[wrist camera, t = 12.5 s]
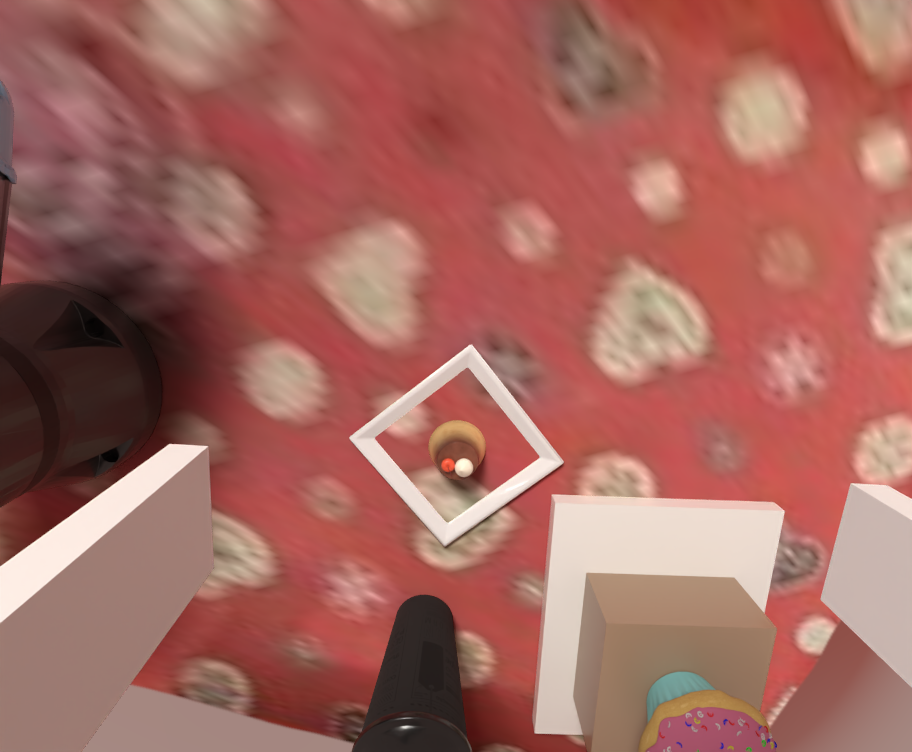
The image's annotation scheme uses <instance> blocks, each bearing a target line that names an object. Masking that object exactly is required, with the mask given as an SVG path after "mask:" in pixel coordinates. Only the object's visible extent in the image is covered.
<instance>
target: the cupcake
mask: <svg viewBox="0 0 912 752" xmlns="http://www.w3.org/2000/svg"><path fill="white" fill-rule="evenodd" d="M646 704H647V718H648V724H647V725H646V727H645V730H644V732H643V734H642V736H641V738H640V742H639V747H638V752H776V747H777V744H776V742H775V741H774V740H773V738H772V735H771V732H770V728H769V726H768V723H767V721H766V720H765V718H764V716H763V715H762V714H761V713H760V712H759V710H758V709H756V708H755V707H754V706H752V705H750V704H749V703H747V702H745V701H743V700H741V699H739V698H735V697H731V696H729V695H728V694H726V693H725V692H723V691H720V690H716V689H715V688H713V687H712V686H711V685H710V684H709V683H708V682H707V681H706V680H705V679H704V678H702V677H701V676H699V675H697V674H695V673H691V672H674V673H670V674H667V675H665V676H663V677H661V678H660V679H659V680H657V681H656V682H655V683H654V684H653V685H652V687H651V688H650V690H649V692H648V695H647V701H646Z"/></svg>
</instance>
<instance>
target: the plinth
mask: <svg viewBox="0 0 912 752" xmlns="http://www.w3.org/2000/svg"><path fill="white" fill-rule="evenodd" d="M784 512H785V511H784V510H783V509H782V508H780V507H779V506H778V505H777V504H775V503H774V502H755V501H726V500H697V499H668V498H639V497H611V496H582V495H553V494H552V499H551V511H550V522H549V533H548V545H547V556H546V568H545V579H544V591H543V602H542V613H541V625H540V636H539V648H538V659H537V671H536V682H535V693H534V705H533V716H532V720H533V726H534V733H536V734H570V735H583V737H584V741H585V745H586V748H587V752H638V747H639V742H640V738H641V736H642V734H643V732H644V730H645V727H646V725H647V724H648V718H647V704H646V701H647V695H648V692H649V690H650V688H651V687H652V685H653V684H654V683H655V682H656V681H657V680H659V679H660V678H661V677H663V676H665V675H667V674H670V673H674V672H691V673H695V674H697V675H699V676H701V677H702V678H704V679H705V680H706V681H707V682H708V683H709V684H710V685H711V686H712V687H713V688H715V689H716V690H720V691H723V692H725V693H726V694H728V695H729V696H731V697H735V698H739V699H741V700H743V701H745V702H747V703H749V704H750V705H752V706H754V707H755V708H756V709H758V710H759V712H760V709H761V704H762V699H763V695H764V690H765V685H766V680H767V675H768V670H769V666H770V661H771V656H772V651H773V646H774V642H775V637H776V632H777V628H776V627H775V625H774V624H773V623H772V622H771V621H770V620H769V618H768V617H767V616H766V615H765V614H764V612H765V607H766V602H767V597H768V592H769V587H770V582H771V577H772V572H773V567H774V562H775V557H776V552H777V547H778V542H779V537H780V532H781V527H782V522H783V517H784Z"/></svg>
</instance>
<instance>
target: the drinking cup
mask: <svg viewBox="0 0 912 752" xmlns="http://www.w3.org/2000/svg"><path fill="white" fill-rule="evenodd" d="M352 752H472V749H471V746H470V744H469V742H468V740H467V732H466V724H465V716H464V708H463V700H462V691H461V683H460V675H459V667H458V659H457V650H456V642H455V634H454V626H453V618H452V613H451V611H450V609H449V607H448V606H447V605H446V603H444V602H443V601H442V600H440V599H439V598H437V597H434V596H430V595H418V596H414V597H412V598H410V599H408V600H406V601H405V602H404V603H403V604H402V605H401V606H400V608H399V610H398V612H397V615H396V619H395V622H394V625H393V629H392V632H391V635H390V639H389V642H388V646H387V649H386V652H385V656H384V659H383V662H382V666H381V669H380V672H379V676H378V679H377V682H376V686H375V689H374V692H373V696H372V699H371V703H370V706H369V709H368V713H367V716H366V719H365V723H364V726H363V729H362V732H361V734H360V735H359V736H358V738H357V740H356V741H355V743H354V746H353V748H352Z"/></svg>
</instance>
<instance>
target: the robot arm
mask: <svg viewBox="0 0 912 752" xmlns="http://www.w3.org/2000/svg"><path fill="white" fill-rule="evenodd" d="M13 125H14V108H13V103H12V99H11V97H10V94H9V92H8V90H7V88H6V87H5V85H4V84H3V82H2V81H1V80H0V507H2V506H4V505H5V504H7V503H9V502H10V501H12V500H13V499H15V498H17V497H18V496H20V495H22V494H24V493H26V492H31V491H37V490H42V489H48V488H53V487H59V486H65V485H70V484H76V483H80V482H84V481H88V480H91V479H93V478H96V477H99V476H101V475H103V474H105V473H107V472H109V471H111V470H112V469H114V468H115V467H117V466H118V465H120V464H121V463H123V462H125V461H126V460H128V459H129V458H130V457H132V456H133V455H134V454H135V453H137V452H138V451H139V450H140V449H141V448H142V446H143V445H144V444H145V443H146V442H147V440H148V439H149V437H150V436H151V434H152V432H153V430H154V428H155V426H156V423H157V421H158V418H159V414H160V409H161V402H162V384H161V377H160V372H159V368H158V365H157V362H156V359H155V356H154V354H153V352H152V350H151V348H150V346H149V344H148V342H147V341H146V339H145V337H144V336H143V334H142V333H141V332H140V330H139V329H138V328H137V326H136V325H135V324H134V323H133V322H132V321H131V320H130V318H129V317H128V316H127V315H125V314H124V313H123V312H122V311H121V310H120V309H119V308H117V307H116V306H115V305H113V304H112V303H111V302H109V301H108V300H106V299H105V298H103V297H101V296H99V295H97V294H96V293H94V292H91V291H89V290H87V289H84V288H82V287H79V286H76V285H72V284H68V283H64V282H57V281H30V282H19V283H10V284H4V285H1V276H2V267H3V258H4V249H5V240H6V232H7V223H8V214H9V205H10V196H11V187H12V184H16V181H17V175H16V173H15V170H14V169H13V168H12V149H13ZM213 569H214V559H213V536H212V514H211V491H210V469H209V446H198V445H180V444H169V445H167V446H166V447H165V448H163V449H162V450H161V451H159V452H158V453H156V454H155V455H154V456H152V457H151V458H149V459H148V460H147V461H145V462H144V463H143V464H141V465H140V466H138V467H137V468H136V469H134V470H133V471H132V472H130V473H129V474H127V475H126V476H125V477H123V478H122V479H120V480H119V481H118V482H116V483H115V484H114V485H112V486H111V487H109V488H108V489H107V490H105V491H104V492H102V493H101V494H100V495H98V496H97V497H96V498H94V499H93V500H91V501H90V502H89V503H87V504H86V505H85V506H83V507H82V508H80V509H79V510H78V511H76V512H75V513H73V514H72V515H71V516H69V517H68V518H67V519H65V520H64V521H62V522H61V523H60V524H58V525H57V526H55V527H54V528H53V529H51V530H50V531H49V532H47V533H46V534H44V535H43V536H42V537H40V538H39V539H38V540H36V541H35V542H33V543H32V544H31V545H29V546H28V547H26V548H25V549H24V550H22V551H21V552H20V553H18V554H17V555H15V556H14V557H13V558H11V559H10V560H9V561H7V562H6V563H4V564H3V565H2V566H0V752H82V751H83V749H84V748H85V746H86V745H87V744H88V742H89V741H90V739H91V738H92V737H93V735H94V734H95V733H96V731H97V730H98V728H99V727H100V726H101V724H102V723H103V721H104V720H105V719H106V717H107V716H108V715H109V713H110V712H111V710H112V709H113V708H114V706H115V705H116V703H117V702H118V701H119V699H120V698H121V697H122V695H123V694H124V692H125V691H126V690H127V688H128V687H129V685H130V684H131V683H132V681H133V680H134V678H135V677H136V676H137V674H138V673H139V672H140V670H141V669H142V667H143V666H144V665H145V663H146V662H147V660H148V659H149V658H150V656H151V655H152V653H153V652H154V651H155V649H156V648H157V647H158V645H159V644H160V642H161V641H162V640H163V638H164V637H165V635H166V634H167V633H168V631H169V630H170V628H171V627H172V626H173V624H174V623H175V622H176V620H177V619H178V617H179V616H180V615H181V613H182V612H183V610H184V609H185V608H186V606H187V605H188V603H189V602H190V601H191V599H192V598H193V597H194V595H195V594H196V592H197V591H198V590H199V588H200V587H201V585H202V584H203V583H204V581H205V580H206V579H207V577H208V576H209V574H210V573H211V572H212V570H213ZM820 600H821V601H822V602H823V603H824V604H826V605H827V606H828V607H829V608H830V609H831V610H832V611H833V612H834V613H835V614H836V615H837V616H838V617H839V618H840V619H841V620H842V621H843V622H844V623H845V624H846V625H847V626H848V627H849V628H851V629H852V630H853V631H854V632H855V633H856V634H857V635H858V636H859V637H860V638H861V639H862V640H863V641H864V642H865V643H866V644H867V645H868V646H869V647H870V648H871V649H872V650H873V651H874V652H875V653H876V654H877V655H878V656H879V657H881V658H882V659H883V660H884V661H885V662H886V663H887V664H888V665H889V666H890V667H891V668H892V669H893V670H894V671H895V672H896V673H897V674H898V675H899V676H900V677H901V678H903V680H904V681H905V682H906V683H908V684H909V685H910V686H911V687H912V499H910V498H909V497H907V496H905V495H903V494H901V493H900V492H898V491H896V490H894V489H892V488H891V487H889V486H887V485H871V484H854V483H851V484H850V488H849V492H848V496H847V500H846V503H845V507H844V511H843V515H842V519H841V523H840V526H839V530H838V534H837V538H836V542H835V546H834V549H833V553H832V557H831V561H830V565H829V569H828V572H827V576H826V580H825V584H824V588H823V592H822V595H821V599H820Z"/></svg>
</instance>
